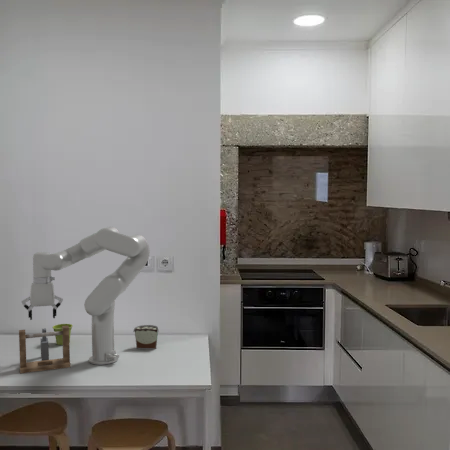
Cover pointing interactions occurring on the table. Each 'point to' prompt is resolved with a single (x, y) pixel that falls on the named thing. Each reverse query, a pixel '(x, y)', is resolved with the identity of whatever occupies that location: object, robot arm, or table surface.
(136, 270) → the robot arm
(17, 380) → the table surface
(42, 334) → the rack
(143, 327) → the food container
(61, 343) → the plant pot
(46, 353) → the stepped gray bar
